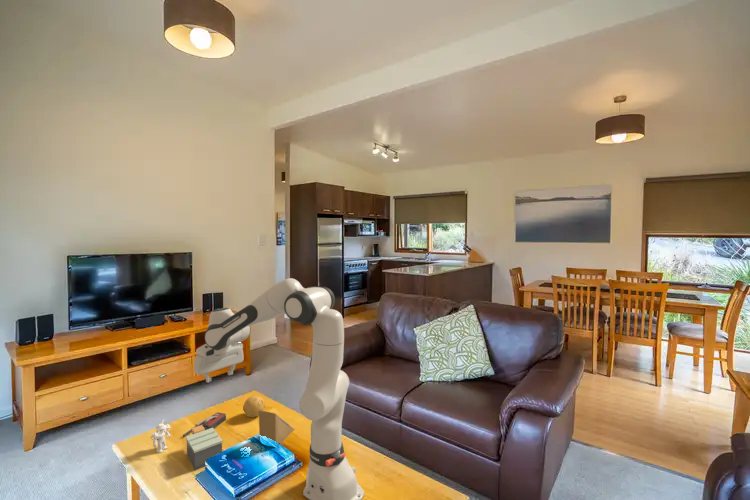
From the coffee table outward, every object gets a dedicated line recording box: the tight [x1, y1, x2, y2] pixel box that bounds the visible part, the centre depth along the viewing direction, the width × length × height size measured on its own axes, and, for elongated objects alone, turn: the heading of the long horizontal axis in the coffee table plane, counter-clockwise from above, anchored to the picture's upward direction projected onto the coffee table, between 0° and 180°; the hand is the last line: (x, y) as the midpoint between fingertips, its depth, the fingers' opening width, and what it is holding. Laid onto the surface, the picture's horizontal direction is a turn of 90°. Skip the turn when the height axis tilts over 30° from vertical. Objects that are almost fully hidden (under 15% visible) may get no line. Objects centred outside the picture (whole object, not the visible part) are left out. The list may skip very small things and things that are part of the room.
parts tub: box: [186, 440, 223, 471], centre depth 141 cm, size 12×10×7 cm
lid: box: [185, 425, 224, 453], centre depth 142 cm, size 16×10×3 cm, turn 42°
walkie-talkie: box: [182, 412, 227, 438], centre depth 163 cm, size 9×4×20 cm
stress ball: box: [242, 395, 266, 418], centre depth 173 cm, size 10×10×10 cm
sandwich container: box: [258, 410, 295, 444], centre depth 156 cm, size 9×15×15 cm, turn 161°
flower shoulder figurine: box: [150, 418, 172, 454], centre depth 146 cm, size 9×4×12 cm, turn 169°
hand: (219, 378), depth 147 cm, fingers open, 8 cm apart
